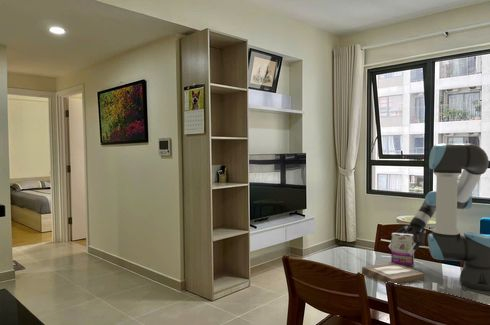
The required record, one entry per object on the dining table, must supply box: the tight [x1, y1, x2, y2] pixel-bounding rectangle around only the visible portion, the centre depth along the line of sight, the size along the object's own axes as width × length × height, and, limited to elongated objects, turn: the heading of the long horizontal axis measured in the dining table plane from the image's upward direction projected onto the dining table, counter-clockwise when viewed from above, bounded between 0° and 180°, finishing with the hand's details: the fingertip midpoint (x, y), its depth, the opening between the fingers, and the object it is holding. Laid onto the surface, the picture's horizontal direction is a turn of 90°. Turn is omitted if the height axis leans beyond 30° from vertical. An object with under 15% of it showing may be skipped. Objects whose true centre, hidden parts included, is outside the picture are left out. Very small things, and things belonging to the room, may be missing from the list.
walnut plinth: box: [361, 261, 425, 285], centre depth 179 cm, size 20×20×3 cm
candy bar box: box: [390, 232, 415, 267], centre depth 199 cm, size 11×5×16 cm, turn 61°
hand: (399, 251), depth 199 cm, fingers open, 13 cm apart
